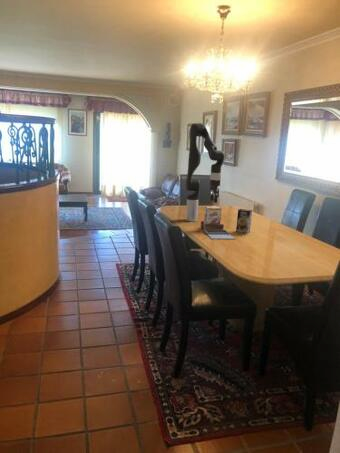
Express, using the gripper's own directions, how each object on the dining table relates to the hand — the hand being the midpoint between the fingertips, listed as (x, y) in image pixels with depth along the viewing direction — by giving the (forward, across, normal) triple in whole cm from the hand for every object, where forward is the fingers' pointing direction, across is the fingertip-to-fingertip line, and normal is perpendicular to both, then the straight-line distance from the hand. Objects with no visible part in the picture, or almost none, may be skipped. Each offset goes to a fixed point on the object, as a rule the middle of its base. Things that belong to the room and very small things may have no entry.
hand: (213, 201), depth 266 cm
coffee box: (+21, +6, +22) cm, 31 cm away
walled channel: (+20, 0, 0) cm, 21 cm away
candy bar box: (+21, 0, 0) cm, 21 cm away
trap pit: (+21, +11, 0) cm, 23 cm away
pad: (+21, +22, 0) cm, 30 cm away
